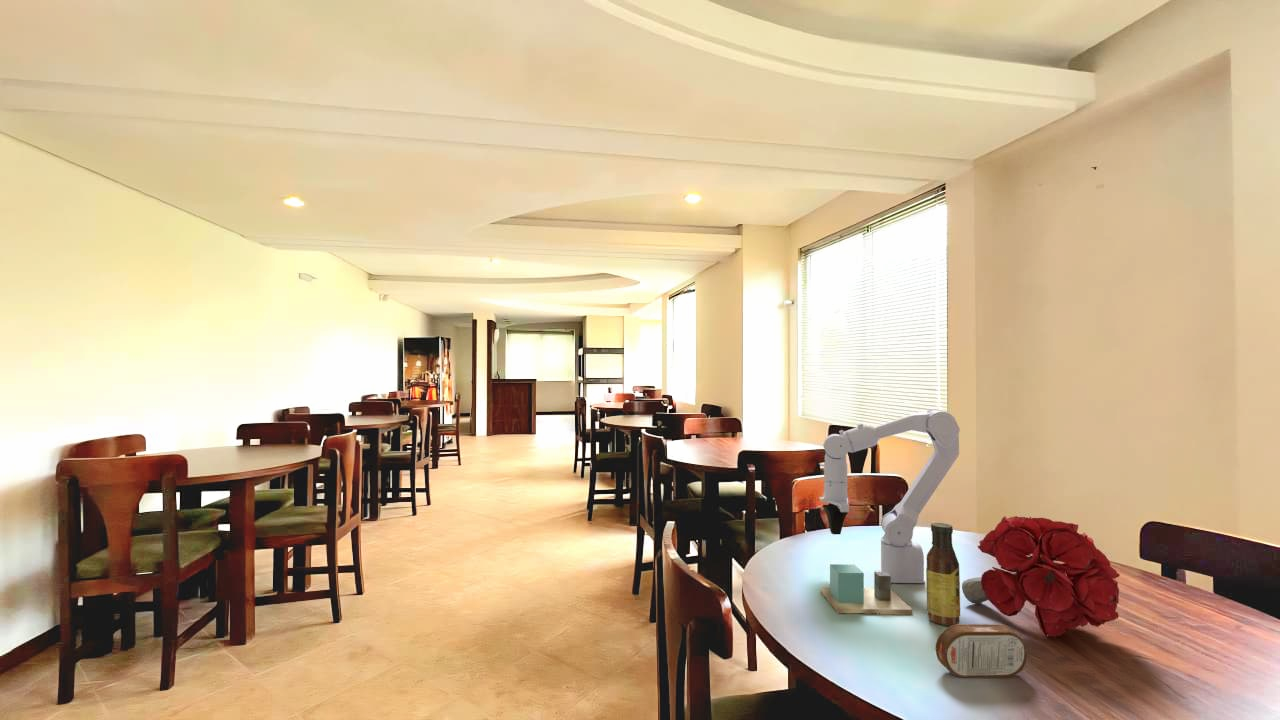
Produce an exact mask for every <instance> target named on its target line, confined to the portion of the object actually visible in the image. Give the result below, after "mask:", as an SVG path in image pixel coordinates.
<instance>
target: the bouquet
mask: <svg viewBox="0 0 1280 720" xmlns="http://www.w3.org/2000/svg"><path fill="white" fill-rule="evenodd" d="M1078 529H1079V524H1075V523H1072V522H1069V523H1067V522H1065V521H1061V520H1060V521H1058V520H1057V521H1056V520H1055V521H1054V520H1052V519H1050V518H1045V517H1032V516H1029V517H1026V516H1017V515H1016V516H1012V517H1011V516H1010V517H1009V518H1008V517H1007V516H1006V515H1003V517H1002V518H1001V521H1000V522H998V524H997V525H996V527H995V529H994V530H990V531H989V532H988V533H986V535H985V537H983V539H981V540H980V541H978V542H979V543H978V544H979V545H977V549H979V550H980V552H981V553H983V554H986V555H989V556H992V557H994V558H995V560H996V563H997V564H998V565H999V566H1000V568H997V567H995V566H992V568H991V569H988V570H986V571H984V572H983V573H982V574H981V577H971V578H968V579H966V580H964V581H963V582H962V583H961V590H962V593H963V596H964V598H966V600H967V601H969V602H970V603H971V604H976V605H977V604H981V603H985V602H986V601H987V602H990V604H992V606H994V608H996V609H997V611H999V612H1000V613H1001V614H1002V615H1004V616H1007V617H1013V616H1016V615H1018V614H1019V613H1021V611H1022V609H1023V608H1024V606H1025V603H1026V602H1028V603H1030V604H1031V605H1033V606H1035V610H1034V615H1035V617H1036V619H1037V622H1038V624H1039V625H1038V626H1039V630H1041V632H1042V633H1043V634H1044V635H1045V637H1047V635H1048V636H1049V637H1052V636H1054V637H1056V636H1055V635H1058V636H1063V635H1064V634H1065V633H1066V631H1067V630H1071V629H1076V628H1078V627H1082V628H1083V627H1085V626H1087V625H1088V624H1089V625H1091V626H1093V627H1097V628H1098V627H1100V626H1101V625H1104V626H1105V623H1107V622H1112V621H1115V620H1117V619H1118V618H1119V613H1118V611H1116V610H1117V608H1118V604H1119V601H1120V599H1119V598H1120V597H1119V594H1120V588H1119V586H1118V585H1119V582H1118V581H1117V580H1116V579H1117V578H1119V577H1120V576H1121V575H1120V573H1118V572H1117V570H1116V569H1115V568H1114V567H1112V566H1111V562H1110V560H1109V559H1108V557H1107V556H1106V555H1105V553H1103V552H1102V551H1101V550H1100V549H1099V548H1097V547H1096V545H1095V544H1094V543H1095V542H1094V539H1093V538H1092V537H1090V536H1088V534H1087V533H1085V532H1083V533H1081V534H1080V533H1079V532H1078ZM1057 562H1060V563H1057ZM1061 562H1062V563H1061ZM1047 638H1048V637H1047Z"/></svg>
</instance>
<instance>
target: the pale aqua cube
mask: <svg viewBox="0 0 1280 720" xmlns="http://www.w3.org/2000/svg"><path fill="white" fill-rule="evenodd" d="M864 576H865V575H864V572H863V571H862V570H861V569H860V568H859V567H858V566H856V565H855V564H830V565H829V588H830V594H831V595H832V596H833V597H834V599H835V600H836V601H837V602H838V603H864V586H865V584H864V582H865V581H864V580H865V579H864V578H865V577H864Z"/></svg>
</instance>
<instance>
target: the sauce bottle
mask: <svg viewBox="0 0 1280 720" xmlns="http://www.w3.org/2000/svg"><path fill="white" fill-rule="evenodd" d="M930 531H931V537H932V539H931V545H932V546H931V548H930V549H929V550H928V552H927V554H926V568H925V570H926V571H925V572H926V575H925V576H926V579H925V584H926V611H927V617H928V619H929V620H930V621H931V622H933V623H935V624H938V625H942V626H948V627H950V626H952V625H956V624H960V616H961V590H960V589H961V585H960V584H961V582H960V581H961V579H960V578H961V577H960V563H959V560H958V557H957V555H956V553H955V549H954V547H953V535H952V534H953V533H954V532H953V525H951V524H950V523H949V524H948V523H943V522H932V523H931V524H930Z"/></svg>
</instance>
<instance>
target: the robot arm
mask: <svg viewBox="0 0 1280 720" xmlns="http://www.w3.org/2000/svg"><path fill="white" fill-rule="evenodd" d="M909 431H916V432H921V433H926V434H928V436H929V437H930V440H931V443H932V446H933V449H934V451H933V452H932V454H931V456H930V457H929V458H928V460H927V461H926V463H925V464H924V466H923V467H922V469H921V470H920V472H919V473H918V475H917V477H915V480H914V481H913V483H912V484H911V485H910V487H909V488H908V490H907V491H906V493H905V494H904V496H903V497H902V499H901V500H900V502H898V503H897V504H895V506H894V507H893V508H892V510H891V511H889V512H887V513H886V514H884V515H883V516H882V518H881V520H880V525H881V528H882V531H883V532H884V534H883V536H882V537H881V538H880V569H878V570H877V569H876V570H874V572H887V573H888V574H889V575H890V576H891V584H926V580H925V557H924V552H923V548H922V546H921V544H919V543H918V542H913V541H912V540H913V535H914V529H915V527H916V526H917V523H918V520H919V516H920V514H921V512H922V511H923V509H924V508H925V506H926V505H927V503H928V502H929V500H930V499H931V497H932V496H933V494H934V492H935V491H936V490H937V488H938V487H939V485H940V484H941V482H942V481H943V479H944V478H945V477H946V475H947V474H948V472H949V471H950V470H951V468H952V466H953V465H954V463H955V462H956V460H957V459H958V457H959V455H960V436H959V435H960V432H961V430H960V427H959V424H958V422H957V420H956V419H955V417H954V416H953V414H951V413H949V412H947V411H943V410H940V409H937V408H936V409H935V408H934V409H929V410H927V411H919V412H915V413H911V414H907V415H905V416H902V417H899V418H896V419H893V420H891V421H888V422H885V423H882V424H880V425H876V426H873V425H871V424H868V423H866V424H863V423H862V422H861V423H859V424H857V427H854V428H850V429H848V430H843V429H841V430H839V431H838V432H839V434H838V433H831V434H829V435H828V436H827V437H826V438H825V440H824V442H823V448H824V451H825V454H824V462H823V490H824V491H823V494H822V495H823V496H819V501H821V502H824V503H828V504H823V505H822V507H823V510H824V511H825V515H826V517H827V521H828V525H829V530H830V534H831V535H841V533H842V529H843V526H844V521H845V520H846V516H847V515H848V513H850V504H849V498H848V463H847V454H848V453H856V452H859V451H862V450H867V449H868V448H871V447H876V446H877V444H878V442H879V440H880V439H881V440H882V439H885V438H888V437H890V436H894V435H899V434H902V433H906V432H909Z"/></svg>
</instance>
